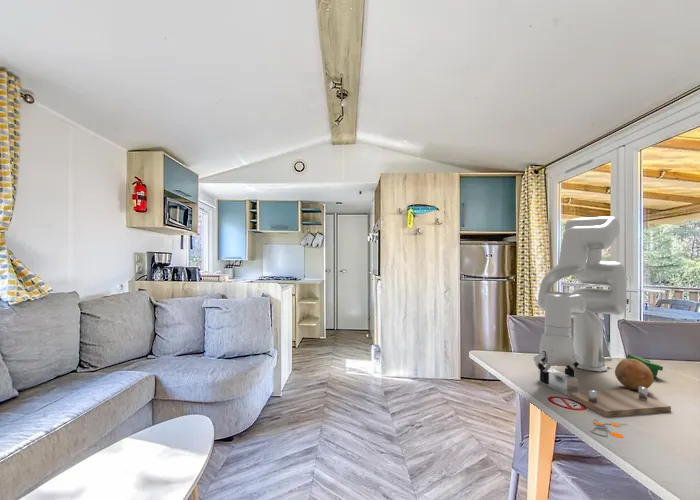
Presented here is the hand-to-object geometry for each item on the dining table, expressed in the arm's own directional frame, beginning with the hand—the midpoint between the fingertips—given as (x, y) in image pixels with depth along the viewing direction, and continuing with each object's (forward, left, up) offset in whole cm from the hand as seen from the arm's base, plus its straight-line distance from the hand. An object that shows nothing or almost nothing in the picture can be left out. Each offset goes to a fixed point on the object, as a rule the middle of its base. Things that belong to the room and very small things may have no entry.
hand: (556, 382), depth 110 cm
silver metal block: (0, 0, -2) cm, 2 cm away
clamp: (-45, -7, -2) cm, 46 cm away
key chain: (+8, +25, -2) cm, 26 cm away
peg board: (-8, +14, -2) cm, 16 cm away
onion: (-25, +5, -2) cm, 26 cm away
